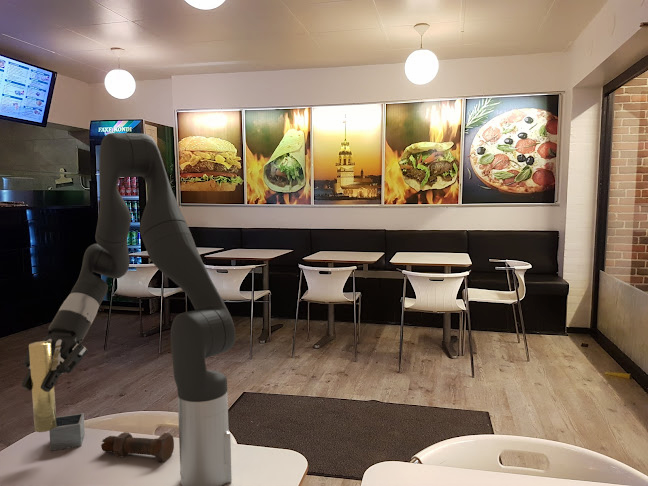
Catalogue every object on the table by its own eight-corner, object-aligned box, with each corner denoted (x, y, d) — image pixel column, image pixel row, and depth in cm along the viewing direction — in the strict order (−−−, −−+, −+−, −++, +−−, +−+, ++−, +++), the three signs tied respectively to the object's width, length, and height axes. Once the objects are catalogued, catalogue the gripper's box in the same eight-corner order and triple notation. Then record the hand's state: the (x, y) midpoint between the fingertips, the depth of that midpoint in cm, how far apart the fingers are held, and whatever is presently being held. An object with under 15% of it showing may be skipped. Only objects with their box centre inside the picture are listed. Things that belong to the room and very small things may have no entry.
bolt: (108, 458, 105) (171, 463, 102) (94, 457, 101) (159, 462, 97) (115, 430, 108) (176, 434, 104) (101, 428, 103) (164, 432, 100)
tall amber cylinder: (58, 422, 104) (52, 340, 102) (54, 430, 100) (49, 345, 99) (37, 425, 102) (31, 342, 101) (32, 433, 99) (26, 347, 97)
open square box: (84, 433, 112) (83, 413, 112) (81, 445, 107) (80, 424, 106) (55, 438, 110) (54, 417, 110) (50, 450, 105) (49, 428, 104)
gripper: (38, 307, 108) (-6, 379, 98) (93, 309, 105) (53, 383, 94) (58, 325, 114) (18, 394, 103) (110, 327, 111) (75, 399, 100)
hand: (35, 389), depth 99 cm, fingers closed on tall amber cylinder, 4 cm apart
